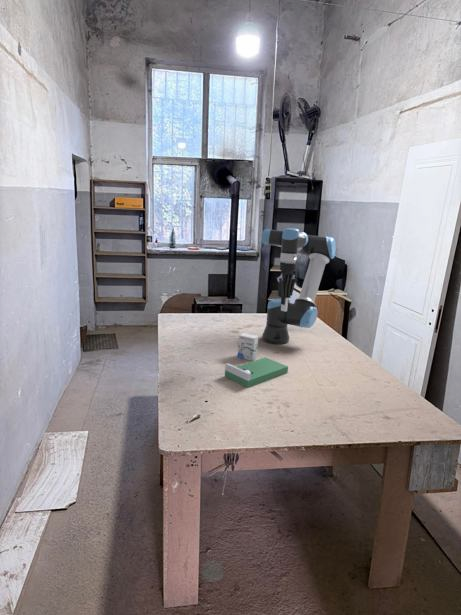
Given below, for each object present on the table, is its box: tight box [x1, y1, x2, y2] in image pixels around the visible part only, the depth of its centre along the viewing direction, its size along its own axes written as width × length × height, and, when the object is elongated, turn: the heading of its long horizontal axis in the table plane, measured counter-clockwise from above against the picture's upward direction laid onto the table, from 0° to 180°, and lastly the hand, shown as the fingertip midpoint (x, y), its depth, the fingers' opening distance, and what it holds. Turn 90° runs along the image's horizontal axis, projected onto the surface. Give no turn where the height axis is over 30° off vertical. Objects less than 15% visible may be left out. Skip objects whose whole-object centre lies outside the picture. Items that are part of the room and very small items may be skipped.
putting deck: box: [224, 357, 289, 388], centre depth 188 cm, size 14×26×6 cm, turn 133°
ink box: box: [237, 332, 259, 362], centre depth 207 cm, size 9×5×12 cm, turn 62°
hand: (283, 310), depth 204 cm, fingers closed
